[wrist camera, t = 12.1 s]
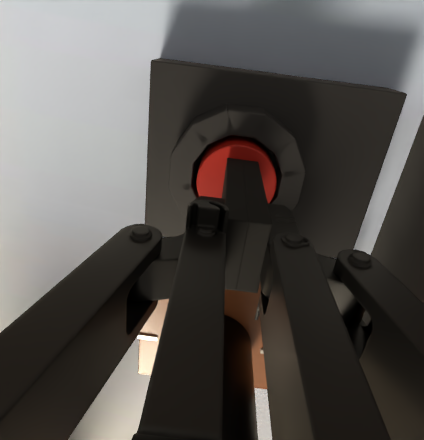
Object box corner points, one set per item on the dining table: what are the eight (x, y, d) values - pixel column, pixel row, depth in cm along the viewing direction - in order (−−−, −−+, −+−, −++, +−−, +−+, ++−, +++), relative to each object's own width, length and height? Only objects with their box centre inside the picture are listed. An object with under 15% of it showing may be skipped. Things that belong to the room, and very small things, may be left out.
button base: (152, 216, 24) (136, 251, 20) (159, 57, 20) (141, 61, 16) (338, 240, 25) (360, 278, 21) (387, 88, 20) (427, 99, 16)
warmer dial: (171, 373, 27) (143, 533, 18) (162, 311, 24) (124, 464, 15) (250, 373, 26) (261, 537, 18) (251, 311, 24) (263, 467, 15)
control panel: (144, 353, 30) (135, 385, 27) (149, 241, 25) (139, 266, 22) (296, 371, 30) (303, 405, 28) (331, 264, 25) (343, 292, 23)
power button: (196, 199, 20) (192, 215, 19) (203, 130, 19) (200, 139, 17) (264, 208, 20) (268, 224, 19) (279, 139, 19) (284, 150, 17)
